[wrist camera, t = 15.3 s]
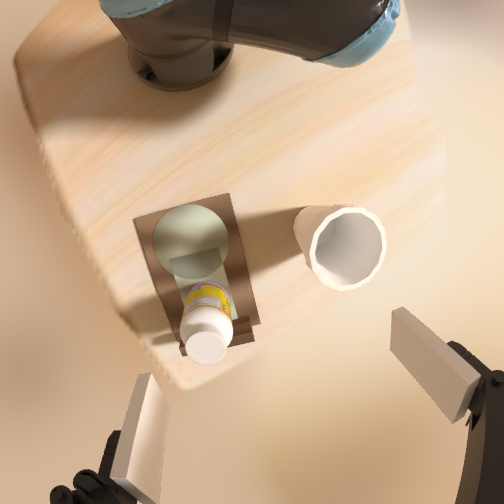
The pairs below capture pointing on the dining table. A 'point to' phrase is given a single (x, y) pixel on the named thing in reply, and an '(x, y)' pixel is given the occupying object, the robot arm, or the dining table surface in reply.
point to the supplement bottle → (206, 323)
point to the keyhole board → (199, 260)
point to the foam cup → (341, 244)
